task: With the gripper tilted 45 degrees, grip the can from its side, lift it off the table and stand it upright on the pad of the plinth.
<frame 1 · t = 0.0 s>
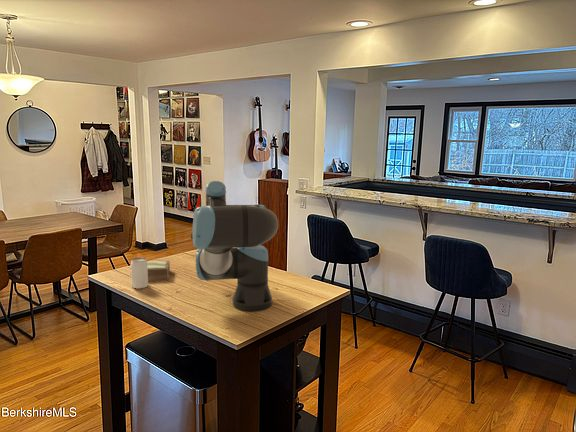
hand: (215, 247, 183), 15 cm above the kitchen island, tool tilted 35°, fingers open, 13 cm apart
can: (140, 286, 176), on the kitchen island
plinth: (156, 275, 190), on the kitchen island
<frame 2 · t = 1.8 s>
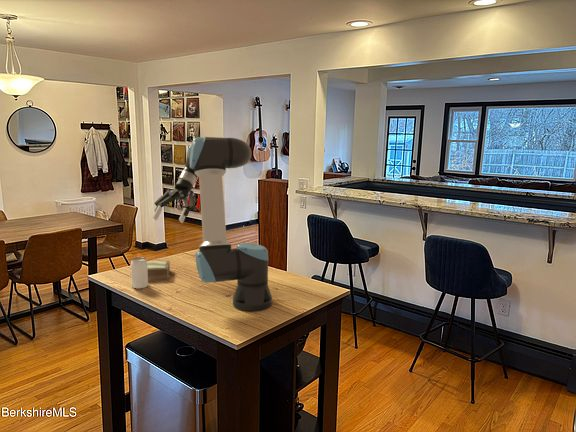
hand: (167, 220, 186), 26 cm above the kitchen island, tool tilted 45°, fingers open, 13 cm apart
nothing on the kitchen island moved.
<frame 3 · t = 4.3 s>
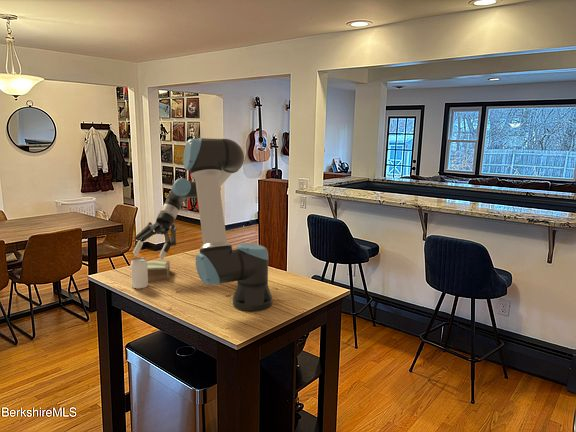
hand: (147, 256, 180), 11 cm above the kitchen island, tool tilted 45°, fingers open, 13 cm apart
nothing on the kitchen island moved.
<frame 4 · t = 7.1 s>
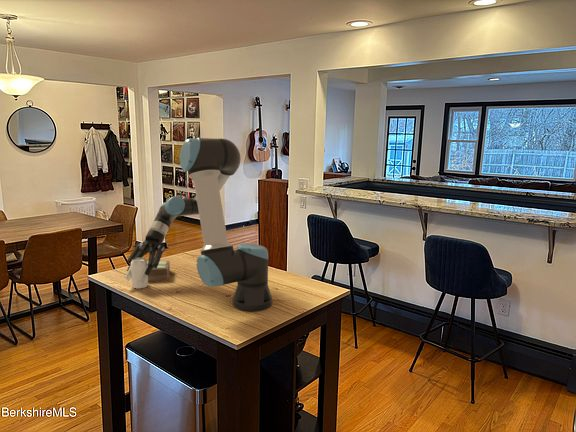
hand: (134, 280, 172), 4 cm above the kitchen island, tool tilted 45°, fingers closed on can, 6 cm apart
can: (140, 286, 176), on the kitchen island, touching gripper
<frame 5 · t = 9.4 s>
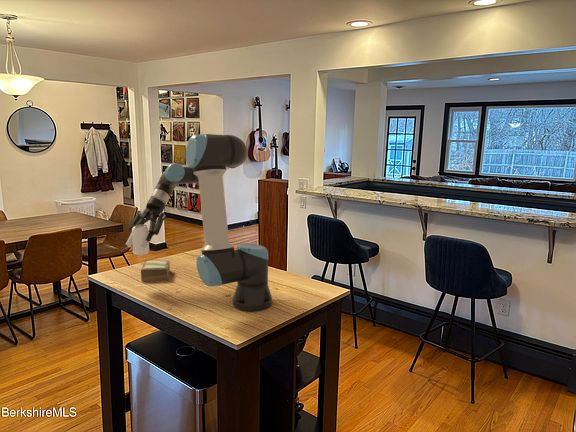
hand: (135, 246, 172), 18 cm above the kitchen island, tool tilted 45°, fingers closed on can, 6 cm apart
can: (141, 254, 176), point 14 cm above the kitchen island, touching gripper
when the fingers open (11 cm above the kitchen island, at t = 12.2 s): can drops 1 cm, resting on plinth.
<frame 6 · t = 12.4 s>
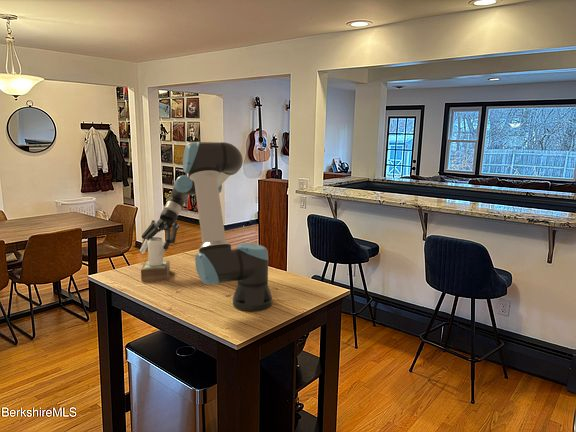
hand: (150, 253, 185), 11 cm above the kitchen island, tool tilted 45°, fingers open, 9 cm apart
can: (155, 264, 189), point 5 cm above the kitchen island, touching plinth
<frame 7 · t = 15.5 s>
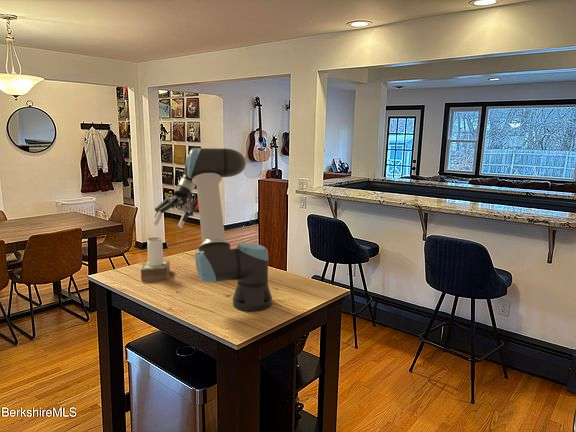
hand: (167, 225, 195), 22 cm above the kitchen island, tool tilted 45°, fingers open, 13 cm apart
nothing on the kitchen island moved.
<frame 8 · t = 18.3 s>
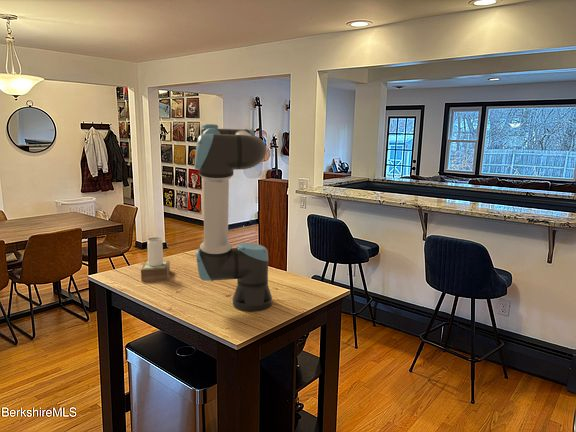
hand: (210, 206, 190), 32 cm above the kitchen island, tool pointing down, fingers open, 13 cm apart
nothing on the kitchen island moved.
at the end: can inside the target area on the plinth (0.0 cm from its centre), point 5.1 cm above the plinth's base; can tilted 0°; the gripper is holding nothing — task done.
